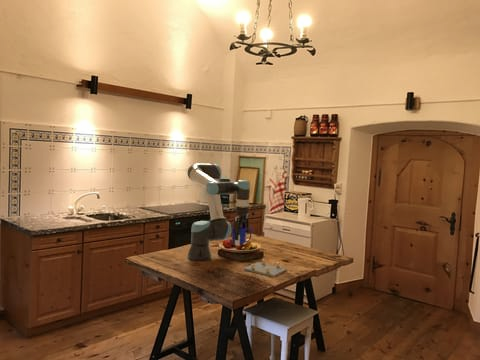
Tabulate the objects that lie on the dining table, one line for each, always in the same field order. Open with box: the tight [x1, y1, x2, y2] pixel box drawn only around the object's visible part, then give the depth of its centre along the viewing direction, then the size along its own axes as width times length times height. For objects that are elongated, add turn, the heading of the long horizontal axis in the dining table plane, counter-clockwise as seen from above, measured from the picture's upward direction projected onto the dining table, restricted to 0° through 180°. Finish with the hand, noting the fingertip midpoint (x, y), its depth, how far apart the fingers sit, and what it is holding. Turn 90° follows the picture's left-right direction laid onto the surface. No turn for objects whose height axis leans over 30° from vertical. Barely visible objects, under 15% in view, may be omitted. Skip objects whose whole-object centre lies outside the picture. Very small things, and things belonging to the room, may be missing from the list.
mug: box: [231, 226, 253, 246], centre depth 242 cm, size 8×12×10 cm
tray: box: [243, 258, 287, 278], centre depth 241 cm, size 20×16×4 cm
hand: (240, 244), depth 241 cm, fingers closed on mug, 7 cm apart
